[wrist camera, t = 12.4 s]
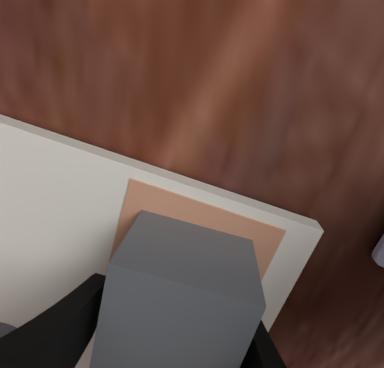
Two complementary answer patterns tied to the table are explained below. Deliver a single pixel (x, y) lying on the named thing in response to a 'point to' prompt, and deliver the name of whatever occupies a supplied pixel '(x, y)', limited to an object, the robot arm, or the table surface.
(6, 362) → the robot arm
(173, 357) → the grey rectangular block
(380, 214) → the table surface
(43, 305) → the board
